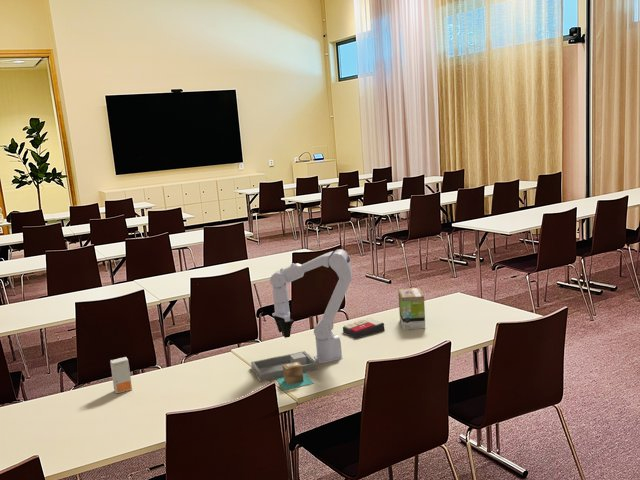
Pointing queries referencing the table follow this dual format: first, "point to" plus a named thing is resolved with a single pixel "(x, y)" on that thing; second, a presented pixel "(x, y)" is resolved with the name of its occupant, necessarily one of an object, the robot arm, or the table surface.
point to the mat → (290, 386)
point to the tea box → (411, 308)
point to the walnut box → (293, 373)
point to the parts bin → (278, 366)
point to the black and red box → (363, 328)
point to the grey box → (298, 358)
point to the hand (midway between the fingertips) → (284, 334)
